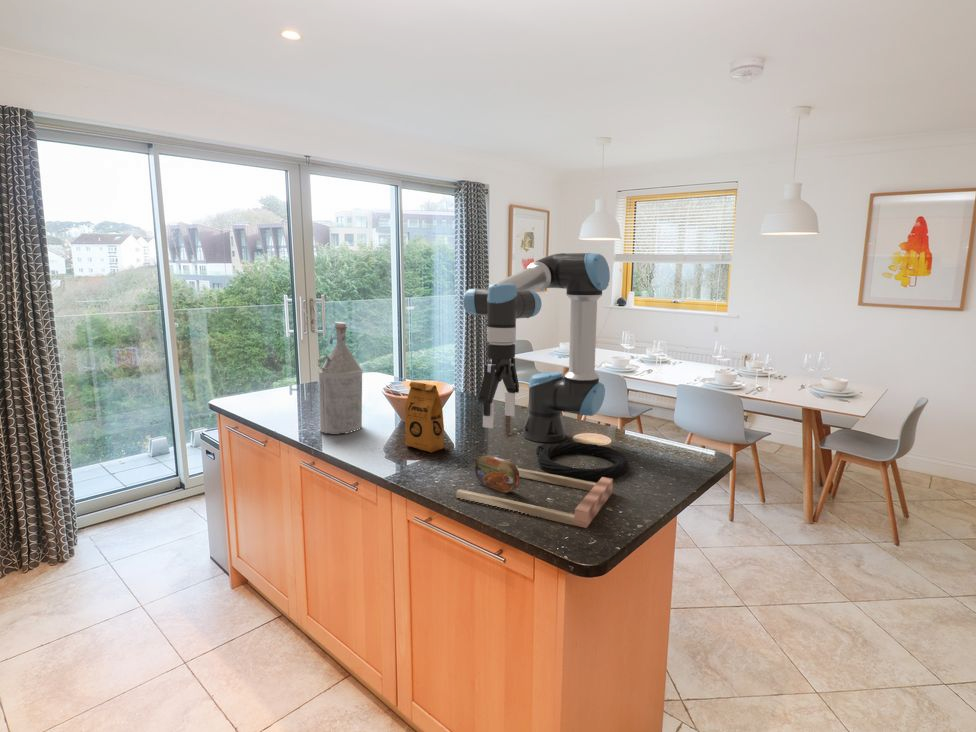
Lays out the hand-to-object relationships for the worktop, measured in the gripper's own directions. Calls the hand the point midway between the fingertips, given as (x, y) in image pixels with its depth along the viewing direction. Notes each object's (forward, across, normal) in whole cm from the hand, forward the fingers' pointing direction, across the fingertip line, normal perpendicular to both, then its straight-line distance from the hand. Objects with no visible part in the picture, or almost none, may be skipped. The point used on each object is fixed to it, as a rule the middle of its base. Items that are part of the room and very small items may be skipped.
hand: (499, 421), depth 149 cm
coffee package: (+19, -19, -36) cm, 45 cm away
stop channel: (+19, 0, +11) cm, 22 cm away
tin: (+19, 0, 0) cm, 19 cm away
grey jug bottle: (+19, -22, -74) cm, 80 cm away
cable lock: (+19, -29, +14) cm, 38 cm away
